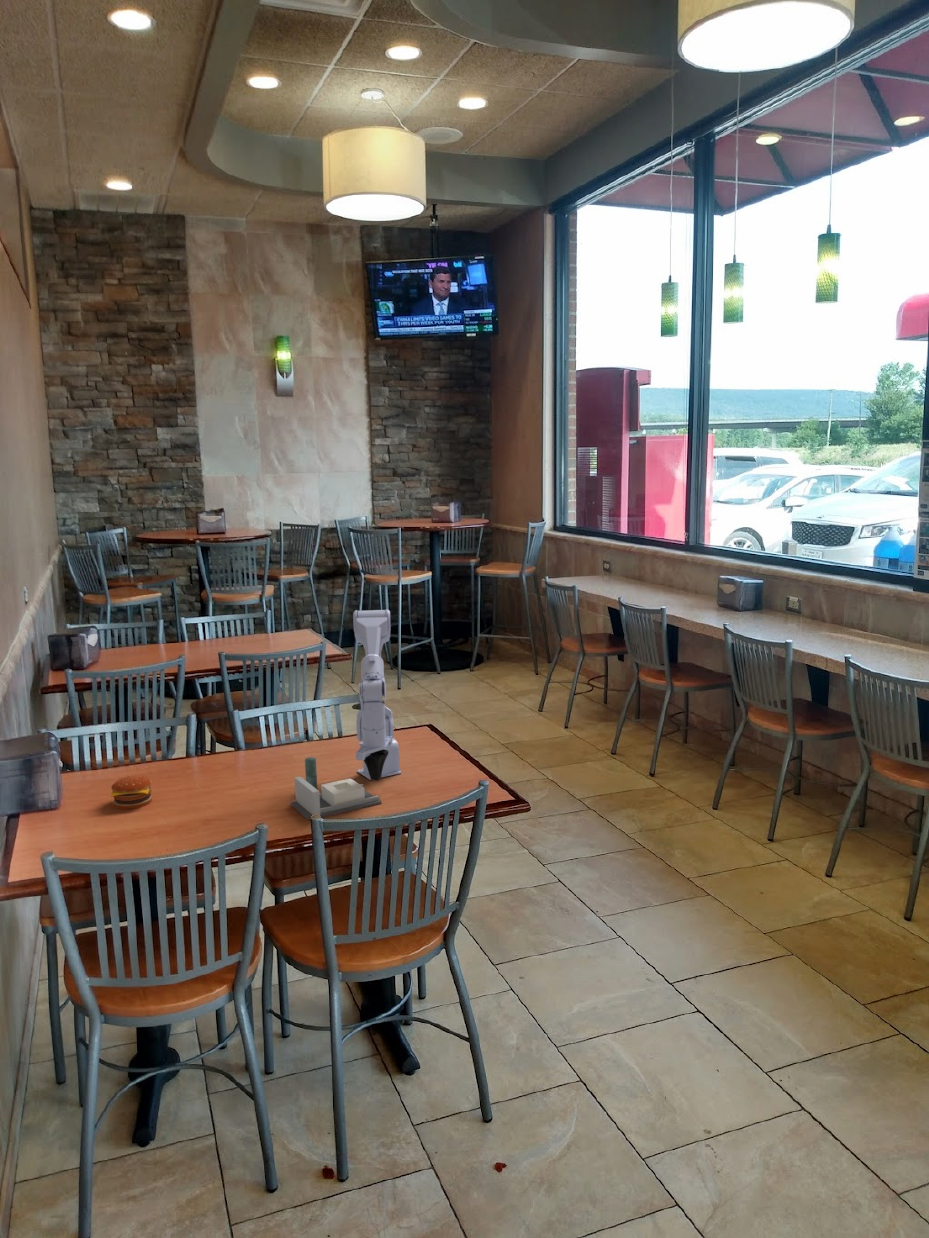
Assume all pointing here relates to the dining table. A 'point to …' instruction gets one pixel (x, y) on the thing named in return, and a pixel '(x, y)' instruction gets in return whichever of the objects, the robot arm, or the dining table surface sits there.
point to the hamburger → (131, 792)
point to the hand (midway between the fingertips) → (375, 779)
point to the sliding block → (342, 792)
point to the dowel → (311, 771)
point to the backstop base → (313, 803)
